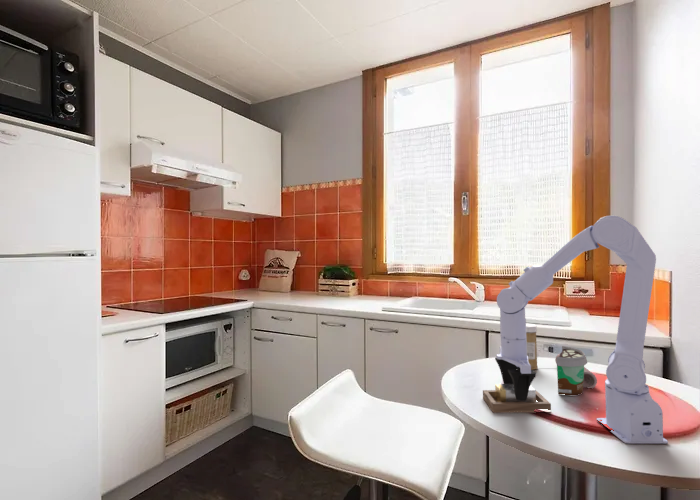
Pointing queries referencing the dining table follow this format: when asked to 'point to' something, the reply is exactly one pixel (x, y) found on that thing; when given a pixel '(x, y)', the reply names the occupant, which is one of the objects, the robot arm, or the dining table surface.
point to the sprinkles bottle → (531, 345)
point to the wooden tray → (514, 404)
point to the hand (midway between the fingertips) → (515, 393)
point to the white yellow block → (512, 393)
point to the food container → (570, 371)
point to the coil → (586, 377)
